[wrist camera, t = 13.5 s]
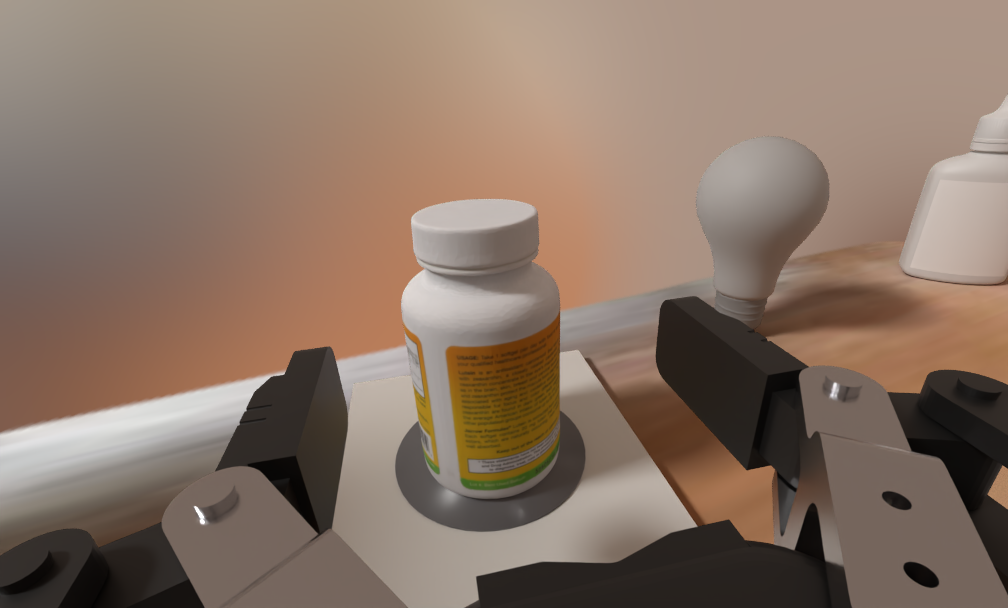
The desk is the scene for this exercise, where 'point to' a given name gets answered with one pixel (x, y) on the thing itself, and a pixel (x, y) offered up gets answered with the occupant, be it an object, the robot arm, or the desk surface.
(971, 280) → the eye dropper bottle
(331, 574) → the robot arm
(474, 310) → the supplement bottle
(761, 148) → the lightbulb
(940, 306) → the desk surface
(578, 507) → the plate
